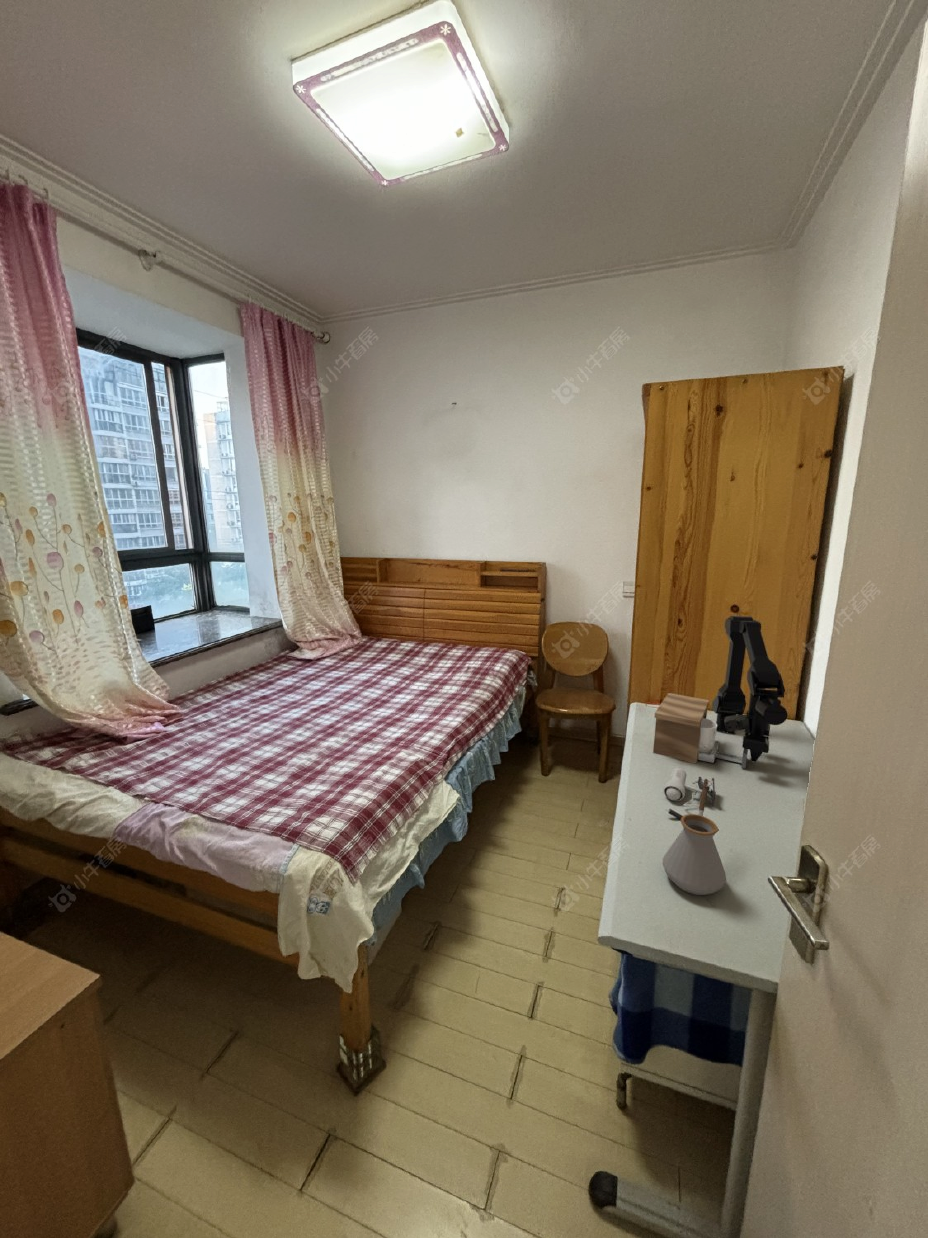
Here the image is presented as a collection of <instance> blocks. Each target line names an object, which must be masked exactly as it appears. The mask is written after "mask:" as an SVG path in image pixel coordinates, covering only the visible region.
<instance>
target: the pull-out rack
mask: <svg viewBox="0 0 928 1238" xmlns="http://www.w3.org/2000/svg"><path fill="white" fill-rule="evenodd" d="M719 744H720V742H719V740H715V742H714V747H713V749H712V752H711V755H709V754H705V753H701V752H698V757H697V761H699V760H700V761H703V762H709V763H711V764H714V763H715V759H716V758H717V759H721V760H726V761H730V762H733V763H734V762H735V763H739V764H741V766H740V768H741V769H746V765H747V762H748V761H747V760H748V752H749V749H744V748H743V751H742V756H737V755H735V754H734V755H733V754H730V753H726V752H722V751H721V752H720V751H718V750H719Z"/></svg>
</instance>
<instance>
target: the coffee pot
mask: <svg viewBox="0 0 928 1238" xmlns="http://www.w3.org/2000/svg"><path fill="white" fill-rule="evenodd" d="M701 781H704V782H703V783H701V784H703V786H702V789H703V790H702V792H701V793H700V796H699V804H698V805H699V807H698V808H699V809H698V813H699V815H697V813H695V814H694V813H688V814H685V815H682V816H683V817H682V818H681V820H680V824H681V825H682V826H683V828H682V830H681V832H680V833H679V835H677V837H676V838H675V840H674V842H672V844H671V845H670V847H669V848H668V849H667V851H666V852H665V854H664V856H663V858H662V866H663V868H664V872H665V874H666V875H667V876H668V878H669V879H670V881H672V882H673V884H675V886H677V887H678V888H679V889H680V890H682V891H684V892H686V893H689V894H692V895H695V896H707V895H711V894H713V893H717V892H719V891H720V889H722V888H723V887H724V885H725V884H726V881H727V875H726V871H725V868H724V865H723V862H722V859H721V856H720V855H719V854H720V853H719V851H718V849H717V845H716V843H715V840H714V838H713V837H714V836H715V835H716V834H717V833H718V832H720V830H719V827H718V826H717V824H716V823H715V822H714V821H713V820H712V819H710V818H708V817H707V816H703V815H704V811H705V807H706V802H707V800H708V799H707V798H708V795H707V790H708V787H707V786H711V785H712V783H711V781H710V780H708V779H707V778H704V779H703V780H701ZM701 781H700V782H701ZM709 782H710V783H711V785H708V783H709Z"/></svg>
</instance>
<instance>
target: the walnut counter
mask: <svg viewBox="0 0 928 1238" xmlns="http://www.w3.org/2000/svg"><path fill="white" fill-rule="evenodd" d="M662 700H663V701H661V703H660V705H659V706H658V708H657V709H656V710H655V712H654V718H655V727H654V736H653V737H654V738H653V739H654V740H653V749H652V750H653V751H652V753H653V754H655V755H657V754H658V755H661V756H665V757H669V758H672V759H677V760H681V761H685V762H689V763H694V764H697V763H698V759H697V757H698V748H699V739H700V730H701V722H702V719H703V718H705V719H707V717H708V708H709V705H710V700H708V699H703V698H698V697H694V696H693V697H692V696H687V695H681V694H677V693H669V692H668V693H667V694H666V696H665V697H664V699H662Z"/></svg>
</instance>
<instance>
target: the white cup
mask: <svg viewBox="0 0 928 1238" xmlns="http://www.w3.org/2000/svg"><path fill="white" fill-rule="evenodd" d="M716 730H717V724H716V721H714V720H711V719H709V718H706V719H705V718H703V719H702V722H701V730H700V739H699V748H698V752H701V753H705V754H709V755H711V752H712V749H713V747H714V742H715V741H716V735H717V731H716Z"/></svg>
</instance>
